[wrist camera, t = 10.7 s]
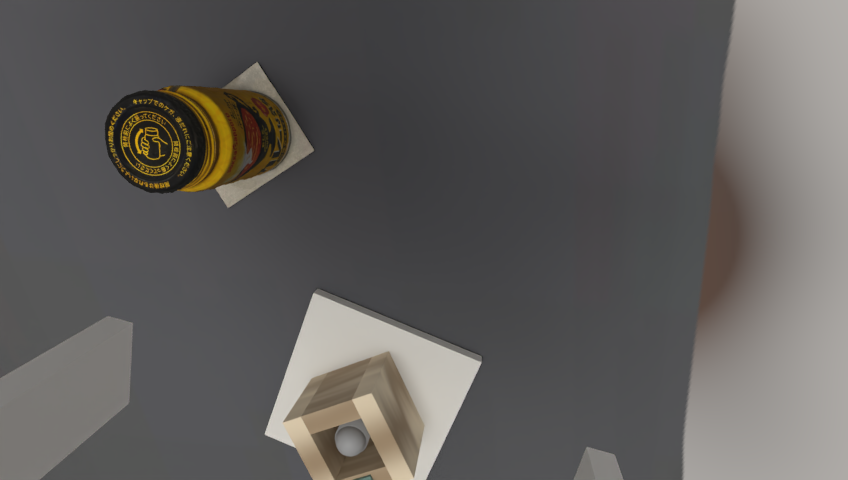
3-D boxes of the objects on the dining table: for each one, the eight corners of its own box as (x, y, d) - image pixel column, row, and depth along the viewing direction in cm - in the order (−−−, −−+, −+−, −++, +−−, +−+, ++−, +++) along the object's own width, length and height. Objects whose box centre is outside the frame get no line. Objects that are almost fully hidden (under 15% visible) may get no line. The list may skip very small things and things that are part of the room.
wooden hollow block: (311, 378, 40) (281, 424, 34) (388, 351, 39) (370, 394, 33) (348, 449, 41) (325, 505, 35) (424, 425, 40) (413, 480, 34)
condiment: (315, 150, 36) (236, 167, 25) (229, 207, 38) (119, 248, 27) (258, 61, 35) (148, 37, 24) (173, 125, 37) (33, 132, 26)
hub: (317, 288, 39) (282, 325, 32) (481, 356, 39) (480, 408, 32) (269, 427, 43) (228, 486, 36) (418, 490, 43) (405, 561, 36)
